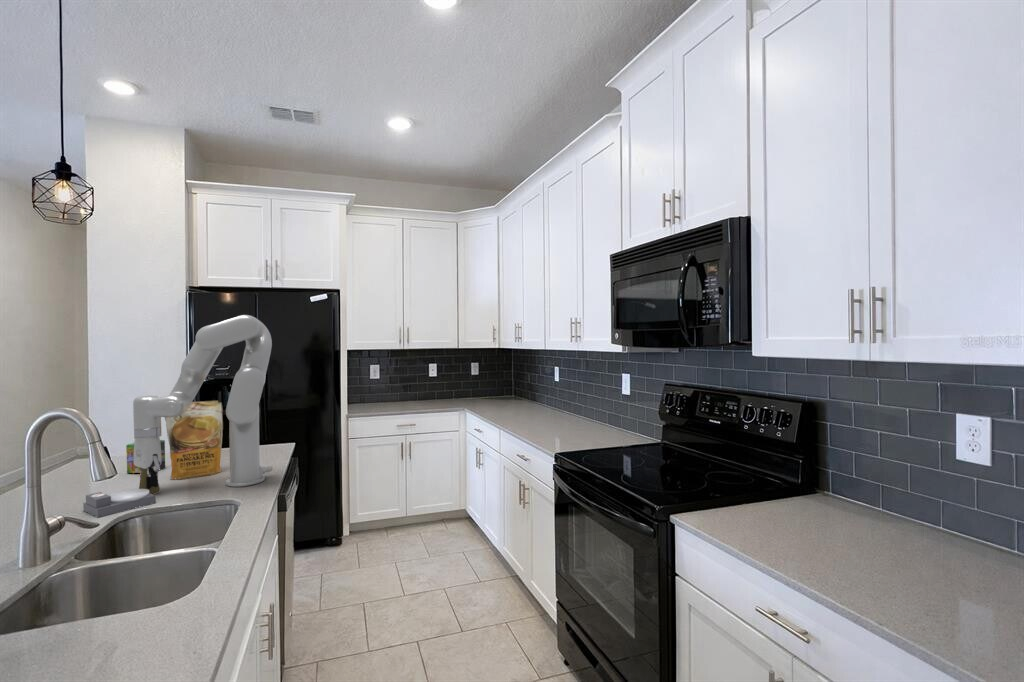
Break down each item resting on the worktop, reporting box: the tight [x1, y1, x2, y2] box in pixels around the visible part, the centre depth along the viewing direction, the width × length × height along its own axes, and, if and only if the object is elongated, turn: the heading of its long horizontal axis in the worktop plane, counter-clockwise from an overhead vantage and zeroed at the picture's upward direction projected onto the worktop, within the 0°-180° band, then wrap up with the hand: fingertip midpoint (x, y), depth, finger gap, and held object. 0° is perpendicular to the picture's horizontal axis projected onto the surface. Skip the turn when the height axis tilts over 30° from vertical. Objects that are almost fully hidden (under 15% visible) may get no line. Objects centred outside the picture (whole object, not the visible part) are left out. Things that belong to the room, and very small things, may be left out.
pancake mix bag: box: [164, 399, 224, 480], centre depth 192 cm, size 7×19×28 cm, turn 126°
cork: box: [138, 465, 161, 495], centre depth 171 cm, size 6×6×11 cm
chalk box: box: [125, 439, 166, 474], centre depth 199 cm, size 9×9×15 cm
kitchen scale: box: [82, 488, 157, 518], centre depth 157 cm, size 15×11×5 cm
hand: (149, 486), depth 171 cm, fingers closed on cork, 3 cm apart
